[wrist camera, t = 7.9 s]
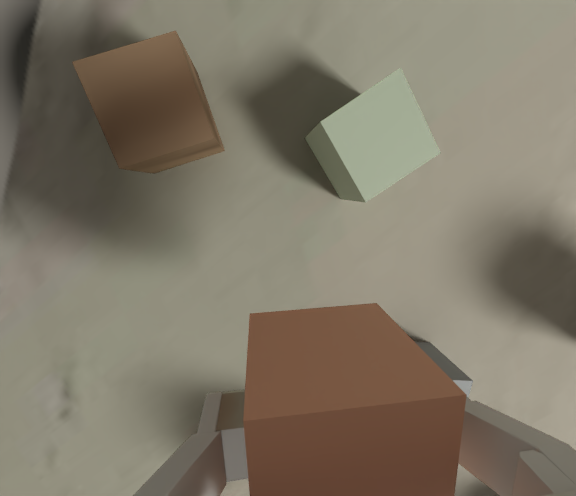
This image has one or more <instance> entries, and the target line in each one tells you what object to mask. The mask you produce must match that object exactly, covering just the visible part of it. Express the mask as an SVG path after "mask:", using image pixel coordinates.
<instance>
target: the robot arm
mask: <svg viewBox="0 0 576 496" xmlns="http://www.w3.org/2000/svg"><path fill="white" fill-rule="evenodd" d="M244 400H245V390H234V391H223V392H213V393H208V394H207V395H206V397H205V401H204V405H203V409H202V414H201V418H200V422H199V426H198V430H197V434H192V435H191V436H190V437H189V438H188V439H187V440H186V441H185V442H184V443H183V444H182V445H181V446H180V447H179V448H178V449H177V450H176V451H175V452H174V453H173V455H172V456H171V457H170V458H169V459H168V460H167V461H166V462H165V463H164V464H163V465H162V466H161V467H160V468H159V469H158V470H157V471H156V472H155V473H154V474H153V475H152V476H151V477H150V478H149V479H148V480H147V482H146V483H145V484H144V485H143V486H142V487H141V488H140V489H139V490H138V491H137V492H136V493H135V494H134V495H133V496H220V494H221V493H222V491H223V489H224V487H225V486H226V482H230V481H236V480H241V479H247V478H248V468H247V457H246V446H245V435H244V424H243V416H244ZM458 463H459V464H460V465H461V466H463V467H464V468H465V469H466V470H468V471H469V472H470V473H471V474H473V475H474V476H475V477H477V478H478V479H479V480H480V481H482V482H483V483H484V484H486V485H487V486H488V487H489V488H491V489H492V490H493V491H495V492H496V493H497V494H498V495H500V496H576V451H575V450H574V449H573V448H572V447H571V446H569V445H568V444H566V443H564V442H562V441H560V440H558V439H556V438H554V437H552V436H550V435H547V434H545V433H543V432H541V431H539V430H537V429H535V428H533V427H530V426H528V425H526V424H524V423H522V422H520V421H518V420H516V419H513V418H511V417H509V416H507V415H505V414H503V413H501V412H499V411H496V410H494V409H492V408H490V407H488V406H486V405H484V404H482V403H480V402H477V401H471V400H470V399H469V398H468V397H467V396H466V404H465V412H464V420H463V428H462V436H461V444H460V452H459V461H458Z"/></svg>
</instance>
